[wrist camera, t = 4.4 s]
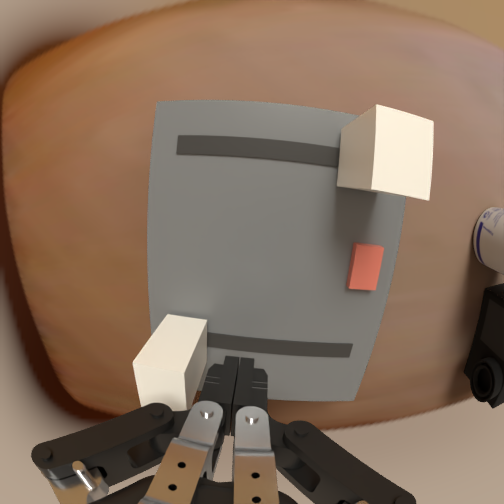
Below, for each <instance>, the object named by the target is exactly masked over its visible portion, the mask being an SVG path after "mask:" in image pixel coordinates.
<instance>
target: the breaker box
mask: <svg viewBox="0 0 504 504" xmlns="http://www.w3.org/2000/svg"><path fill="white" fill-rule="evenodd" d="M357 117H359V116H358V115H353V114H348V113H343V112H338V111H332V110H326V109H319V108H313V107H306V106H298V105H289V104H280V103H268V102H255V101H235V100H179V101H160V102H157V105H156V113H155V121H154V129H153V138H152V149H151V161H150V174H149V192H148V223H147V260H148V291H149V309H150V323H151V334H152V335H153V333H154V332H155V330H156V329H157V328H158V326H159V325H160V324H161V322H162V321H163V319H164V318H165V317H166V315H167V314H171V315H177V316H184V317H190V318H197V319H205V320H207V362H206V365H205V368H204V371H203V374H202V377H201V380H200V383H199V386H198V388H197V390H198V391H202V388H203V385H204V382H205V378H206V375H207V372H208V369H209V368H210V367H211V366H212V365H213V364H214V363H215V364H224V360H225V356H226V355H227V356H235V357H240V358H241V357H244V358H254V359H255V360H254V368H260V369H264V370H265V372H266V373H267V375H268V393H267V399H274V400H293V401H354V398H355V396H356V393H357V391H358V388H359V386H360V383H361V381H362V378H363V375H364V373H365V370H366V367H367V364H368V361H369V358H370V355H371V352H372V349H373V346H374V343H375V340H376V337H377V334H378V330H379V327H380V324H381V320H382V317H383V313H384V309H385V305H386V302H387V298H388V294H389V290H390V285H391V281H392V277H393V272H394V268H395V263H396V258H397V253H398V247H399V242H400V236H401V230H402V224H403V217H404V210H405V202H406V197H404V196H397V195H390V194H383V193H376V192H370V191H364V190H358V189H352V188H345V187H339V186H337V178H338V167H339V155H340V142H341V129H342V128H343V127H345V126H346V125H347V124H349V123H350V122H352V121H353V120H354V119H356V118H357ZM239 364H240V360H239Z"/></svg>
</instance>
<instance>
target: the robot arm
mask: <svg viewBox="0 0 504 504" xmlns="http://www.w3.org/2000/svg"><path fill="white" fill-rule="evenodd" d="M239 360H240V364H239ZM254 360H255V359H254V358H244V357H241V358H240V357H235V356H227V355H226V356H225V360H224V364H215V363H214V364H213V365H212V366H211V367H210V368H209V369H208V372H207V375H206V378H205V382H204V385H203V388H202V391H201V394H200V397H199V401H198V402H197V403H196V404H194V405H193V406H192V408H191V409H189V410H185V411H172V409H171V408H170V407H169V406H168V405H166V404H163V403H150V404H148V405H145V406H143V407H141V408H138V409H136V410H134V411H131V412H129V413H126V414H124V415H121V416H119V417H116V418H114V419H111V420H109V421H106V422H103V423H101V424H98V425H95V426H93V427H90V428H87V429H84V430H81V431H78V432H76V433H72V434H69V435H66V436H63V437H60V438H57V439H54V440H51V441H47V442H43V443H40V444H38V445H36V446H35V447H34V448H33V450H32V453H31V457H32V460H33V462H34V463H35V465H36V466H37V467H38V468H39V470H40V471H41V473H42V474H43V475H44V476H45V478H46V479H47V480H48V481H49V483H50V485H51V487H52V489H53V491H54V493H55V495H56V497H57V499H58V500H59V502H60V504H298V503H296V501H294V500H293V499H292V498H291V497H289V496H288V495H286V494H284V493H282V492H280V491H278V486H277V477H276V468H277V470H278V471H279V472H280V473H281V474H282V475H284V477H285V478H287V479H288V480H289V481H290V482H291V483H292V484H293V485H294V486H295V487H296V488H297V489H298V490H300V491H301V492H302V493H303V494H304V495H305V496H306V497H308V498H309V499H310V500H311V501H312V502H313V503H315V504H416V500H415V498H414V496H413V495H412V494H410V493H409V492H407V491H405V490H404V489H402V488H401V487H399V486H397V485H396V484H394V483H393V482H391V481H390V480H388V479H386V478H385V477H383V476H382V475H380V474H379V473H377V472H376V471H374V470H373V469H371V468H370V467H368V466H367V465H366V464H364V463H363V462H361V461H360V460H358V459H357V458H356V457H354V456H353V455H352V454H350V453H349V452H347V451H346V450H345V449H343V448H342V447H341V446H339V445H338V444H337V443H335V442H334V441H333V440H331V439H330V438H329V437H327V436H326V435H325V434H324V433H322V432H321V431H320V430H319V429H317V428H316V427H315V426H314V425H312V424H311V423H309V422H306V421H293V422H291V423H289V424H288V425H286V424H283V423H279V422H277V421H275V420H273V419H272V418H271V417H270V416H269V414H268V412H267V393H268V375H267V373H266V372H265V370H264V369H260V368H254ZM231 422H232V425H231ZM230 429H231V436H234V444H233V465H232V482H221V483H220V482H219V483H218V482H215V481H213V476H214V473H215V469H216V466H217V462H218V459H219V456H220V452H221V449H222V444H223V441H224V436H225V435H228V436H229V435H230ZM160 463H161V464H160ZM158 464H160V466H159V468H158V470H157V472H156V474H155V475H152V476H148V477H145V478H143V479H141V480H139V481H137V482H135V483H133V484H131V485H129V486H127V487H125V488H123V489H121V490H118V491H116V492H114V493H112V494H110V495H108V496H107V494H108V492H109V487H110V486H112V485H115V484H117V483H119V482H122V481H124V480H126V479H128V478H130V477H133V476H135V475H137V474H139V473H142V472H144V471H146V470H148V469H150V468H152V467H154V466H156V465H158Z"/></svg>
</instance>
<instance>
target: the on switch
mask: <svg viewBox="0 0 504 504" xmlns="http://www.w3.org/2000/svg"><path fill="white" fill-rule="evenodd" d="M432 159H433V121H431V120H428V119H425V118H422V117H419V116H416V115H413V114H409V113H406V112H403V111H399V110H396V109H392V108H389V107H385V106H381V105H377V104H376V105H375V106H373V107H372V108H370V109H369V110H367V111H366V112H365V113H363V114H362V115H360V116H359V117H357V118H356V119H354V120H353V121H352V122H350V123H349V124H347V125H346V126H345V127H343V128H342V129H341V142H340V155H339V167H338V178H337V186H339V187H345V188H352V189H358V190H364V191H370V192H376V193H383V194H390V195H397V196H404V197H410V198H416V199H423V200H428V201H429V195H430V186H431V174H432Z"/></svg>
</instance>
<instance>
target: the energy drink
mask: <svg viewBox="0 0 504 504" xmlns="http://www.w3.org/2000/svg"><path fill="white" fill-rule="evenodd" d="M473 244H474V250H475V254H476V257H477V259H478V260H479V262H481V263H482V264H483V265H485V266H487V267H489V268H491V269H493V270H495V271H497V272H499V273H501V274H503V275H504V209H501V208H496V207H491V208H488V209H487V210H485V211H484V212H483V213H482V215H481V216H480V218H479V219H478V221H477V223H476V226H475V230H474V236H473Z"/></svg>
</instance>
